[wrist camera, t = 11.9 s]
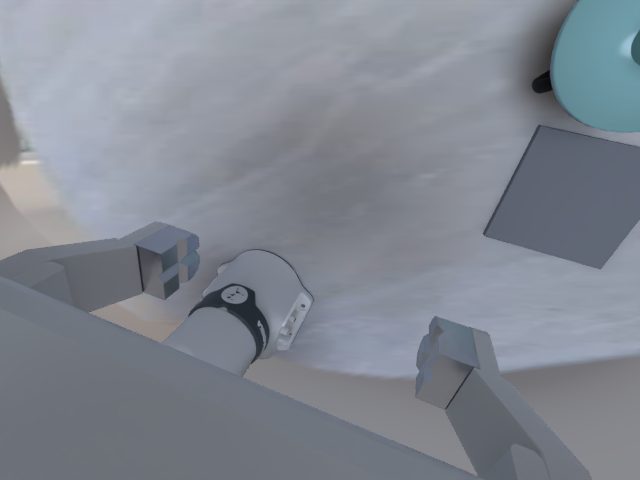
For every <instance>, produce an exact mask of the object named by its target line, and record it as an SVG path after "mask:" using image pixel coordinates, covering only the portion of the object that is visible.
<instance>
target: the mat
mask: <svg viewBox="0 0 640 480" xmlns="http://www.w3.org/2000/svg"><path fill="white" fill-rule="evenodd" d="M639 220H640V147H635V146H631V145H626V144H621V143H617V142H612V141H608V140H603V139H599V138H594V137H590V136H585V135H581V134H576V133H571V132H567V131H562V130H558V129H553V128H549V127H544V126H540V125H539V126H538V128H537V130H536V132H535V134H534V136H533V137H532V139H531V141H530V143H529V145H528V147H527V149H526V151H525V153H524V155H523V157H522V159H521V161H520V163H519V165H518V167H517V169H516V171H515V173H514V175H513V177H512V179H511V180H510V182H509V184H508V186H507V188H506V190H505V192H504V194H503V196H502V198H501V200H500V202H499V204H498V206H497V208H496V210H495V212H494V214H493V216H492V218H491V220H490V221H489V223H488V225H487V227H486V229H485V231H484V233H483V234H484V236H486V237H490V238H493V239H497V240H500V241H504V242H507V243H511V244H514V245H518V246H521V247H525V248H528V249H532V250H535V251H539V252H542V253H546V254H549V255H553V256H556V257H560V258H563V259H567V260H570V261H574V262H577V263H580V264H584V265H587V266H591V267H594V268H598V269H601V268H602V267H603V266H604V265H605V263H606V262H607V261H608V259H609V258H610V257H611V256H612V254H613V253H614V252H615V250H616V249H617V248H618V247H619V245H620V244H621V243H622V241H623V240H624V239H625V238H626V236H627V235H628V234H629V232H630V231H631V230H632V229H633V227H634V226H635V225H636V224H637V222H638V221H639Z"/></svg>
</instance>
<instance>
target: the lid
mask: <svg viewBox="0 0 640 480" xmlns="http://www.w3.org/2000/svg"><path fill="white" fill-rule="evenodd" d="M550 78H551V84H552V88H553V91H554V94H555V97H556V99H557V100H558V102H559V104H560V105H561V107H562V108H563V109H564V110H565V111H566V112H567V113H568V114H569V115H570V116H571V117H572V118H574V119H576V120H577V121H579V122H580V123H583V124H585V125H587V126H590V127H594V128H598V129H601V130H606V131H612V132H629V133H631V132H640V0H578V1H577V2H576V3H575V4H574V6H573V7H572V9H571V10H570V12H569V14H568V15H567V17H566V18H565V20H564V22H563V24H562V26H561V28H560V30H559V33H558V35H557V38H556V40H555V43H554V47H553V51H552V55H551V63H550Z"/></svg>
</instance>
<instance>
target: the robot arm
mask: <svg viewBox="0 0 640 480" xmlns="http://www.w3.org/2000/svg"><path fill="white" fill-rule="evenodd" d="M198 247H199V237H198V236H197V235H196V234H193V233H190V232H187V231H185V230H182V229H179V228H176V227H174V226H170V225H168V224H165V223H162V222H154V223H151V224H149V225H147V226H145V227H143V228H141V229H139V230H137V231H135V232H133V233H131V234H129V235H127V236H125V237H123V238H121V239H116V238H112V239H105V240H97V241H90V242H82V243H74V244H67V245H59V246H52V247H44V248H37V249H29V250H25V251H22V252H20V253H17V254H15V255H12V256H10V257H7V258H5V259H3V260H0V480H592V478H591V476H590V474H589V471H588V470H587V469H586V468H585V467H584V466H583V465H582V463H581V462H580V461H579V460H578V459H577V458H576V457H575V456H574V454H573V453H572V452H571V451H570V450H569V449H568V448H567V447H566V445H564V443H563V442H562V441H561V440H560V439H559V438H558V436H557V435H556V434H555V433H554V432H553V431H552V430H551V429H550V427H549V426H548V425H547V424H546V423H545V422H544V421H543V420H542V418H541V417H540V416H539V415H538V414H537V413H536V412H535V411H534V409H533V408H532V407H531V406H530V405H529V404H528V403H527V402H526V401H525V399H524V398H523V397H522V396H521V395H520V394H519V393H518V392H517V390H516V389H515V388H514V387H513V386H512V385H511V384H510V382H509V381H508V380H507V379H505V378H502V377H501V375H500V372H499V368H498V364H497V360H496V357H495V353H494V349H493V346H492V342H491V338H490V335H489V334H488V333H487V332H484V331H481V330H478V329H475V328H472V327H467V326H464V325H461V324H458V323H455V322H452V321H449V320H446V319H443V318H440V317H437V316H435V317H434V318H433V319H432V321H431V323H430V325H429V334H427V335H425V336H424V337H423V339H422V341H421V343H420V346H419V350H418V354H417V363H416V366H417V368H418V369H419V373H418V375H417V377H416V398H418V399H420V400H422V401H425V402H427V403H430V404H432V405H435V406H437V407H439V408H442V409H444V410H446V411H445V412H446V414H447V416H448V418H449V420H450V422H451V424H452V426H453V428H454V430H455V432H456V434H457V436H458V438H459V440H460V442H461V443H462V445H463V447H464V449H465V451H466V453H467V455H468V457H469V459H470V461H471V463H472V465H473V467H474V469H475V471H476V472H477V475H478V476H476V475H474V474H472V473H469V472H467V471H464V470H462V469H460V468H457V467H454V466H453V465H450V464H448V463H445V462H443V461H441V460H438V459H435V458H433V457H431V456H429V455H426V454H424V453H421V452H419V451H417V450H414V449H412V448H410V447H407V446H405V445H403V444H400V443H397V442H395V441H393V440H390V439H388V438H386V437H383V436H381V435H379V434H376V433H374V432H372V431H369V430H367V429H364V428H362V427H360V426H357V425H354V424H352V423H350V422H347V421H345V420H343V419H340V418H338V417H336V416H333V415H331V414H329V413H326V412H324V411H321V410H319V409H317V408H314V407H312V406H310V405H307V404H305V403H302V402H300V401H297V400H295V399H293V398H290V397H288V396H286V395H283V394H281V393H279V392H276V391H274V390H271V389H269V388H267V387H264V386H262V385H260V384H257V383H255V382H252V381H250V380H248V379H245V378H243V375H244V374H245V372H246V370H247V369H248V367H249V365H250V364H252V363H253V362H254V361H255V360H257V359H268V358H270V357H271V356H272V355H273V353H274V351H275V350H277V351H285V350H288V349H289V347H290V346H291V344H292V342H293V340H294V338H295V336H296V334H297V332H298V330H299V329H300V327H301V325H302V323H303V321H304V319H305V317H306V315H307V313H308V311H309V309H310V307H311V305H312V303H313V298H312V296H311V295H310V294H309V293H308V292H307V291H306V290H305V289H304V288H303V286H302V285H301V283H300V281H299V279H298V277H297V275H296V273H295V272H294V270H293V269H292V268H291V267H290V266H289V265H288V264H287V263H286V262H285V261H284V260H282V259H281V258H279V257H278V256H276V255H274V254H272V253H269V252H266V251H261V250H250V251H246V252H243V253H241V254H240V255H238V256H237V257H236V258H235V259H234V260H233V261H232V262H229V263H225V264H222V265H221V266H220V267H219V268H218V270H217V272H218V276H217V277H216V278H215V279H214V281H213V282H212V283H211V284H210V285H209V286H208V287H207V289H206V290H205V291H204V292H203V299H201V300H200V301H199V302H198V303H197V304H196V305H195V307H194V308H193V309H192V310H191V312H190V314H189V316H188V318H187V319H186V320H185V321H184V322H183V323H182V324H181V325H180V326H179V327H178V328H177V329H176V330H175V331H174V332H173V333H172V334H171V335H170V336H169V337H168V338H167V339H166V340H165V341H164V342H162V343H159V342H157V341H155V340H152V339H150V338H147V337H145V336H143V335H140V334H138V333H136V332H133V331H131V330H128V329H126V328H123V327H121V326H119V325H116V324H114V323H112V322H109V321H107V320H104V319H102V318H100V317H97V316H95V315H93V314H90V313H88V312H91V311H94V310H97V309H100V308H103V307H105V306H108V305H110V304H114V303H117V302H119V301H122V300H125V299H128V298H131V297H133V296H136V295H139V294H142V293H143V292H144V293H147V294H150V295H153V296H155V297H158V298H161V299H164V300H166V299H167V298H168V297H169V296H170V295H172V294H173V293H174V292H175V291H177V290H178V289H179V285H180V283H183V282H187V281H189V280H190V279H191V278H192V277H193V276H194V275H195V273H196V272H197V270H198V267H199V263H200V257H199V255H198V253H197V252H196V249H197V248H198ZM303 304H304V305H303Z"/></svg>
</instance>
